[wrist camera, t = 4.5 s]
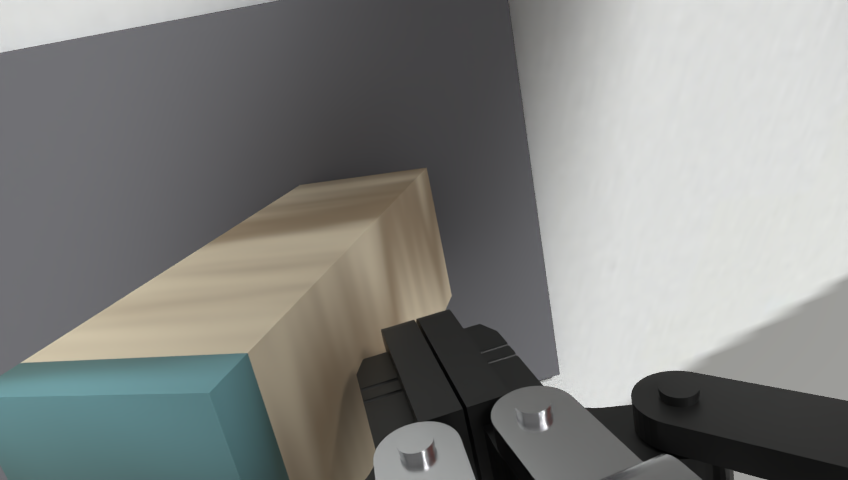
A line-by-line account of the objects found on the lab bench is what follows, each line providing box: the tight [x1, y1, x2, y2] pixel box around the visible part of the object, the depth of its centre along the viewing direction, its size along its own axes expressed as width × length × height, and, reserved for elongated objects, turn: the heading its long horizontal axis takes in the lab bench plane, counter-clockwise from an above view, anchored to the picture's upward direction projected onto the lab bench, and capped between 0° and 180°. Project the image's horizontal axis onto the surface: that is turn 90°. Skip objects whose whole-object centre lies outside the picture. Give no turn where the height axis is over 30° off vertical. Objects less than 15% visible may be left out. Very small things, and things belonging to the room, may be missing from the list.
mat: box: [0, 0, 560, 480], centre depth 20 cm, size 16×28×1 cm, turn 101°
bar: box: [0, 168, 452, 480], centre depth 15 cm, size 4×4×12 cm
